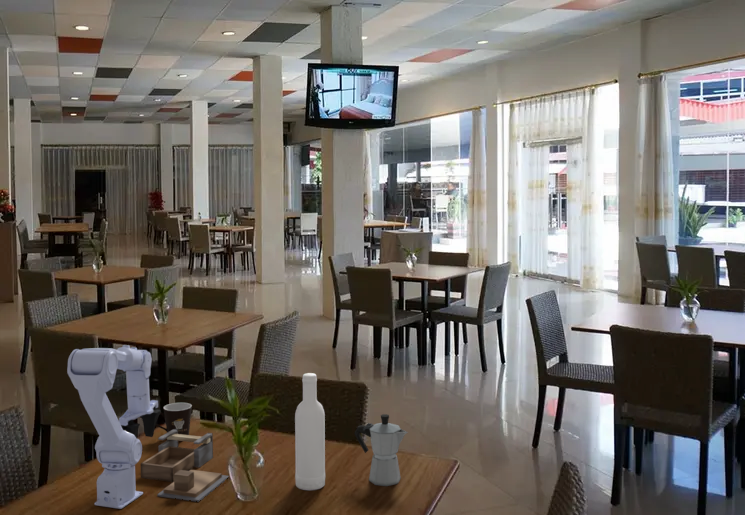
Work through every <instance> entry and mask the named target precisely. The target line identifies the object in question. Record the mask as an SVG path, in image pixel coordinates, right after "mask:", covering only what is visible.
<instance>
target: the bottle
mask: <svg viewBox="0 0 745 515" xmlns="http://www.w3.org/2000/svg"><path fill="white" fill-rule="evenodd" d="M317 377H318V376H317V374H316V373H314V372H313V373H312V372H307V373H306V372H305V373H304V374H302V379H301V381H302V401H301V402H300V403H299V404H298V405H297V406H296V410H295V413H294V423H295V424H294V429H295V430H294V431H295V432H294V434H295V436H294V437H295V438H294V440H295V443H294V444H295V446H294V447H295V448H294V449H295V452H294V453H295V474H294V479H295V486H296V488H298V489H299V490H301V491H302V490H303V491H317V490H320V489H322V488H323V487H324V486H325V485H326V456H325V455H326V450H325V449H326V446H325V445H326V444H325V443H326V441H325V440H326V439H325V438H326V434H325V432H326V428H325V426H326V425H325V421H326V419H325V418H326V417H325V416H326V414H325V409H324V406H323V404H322V403H321V402H319V401H318V397H317V392H318V390H317V387H318V386H317V381H318V378H317Z"/></svg>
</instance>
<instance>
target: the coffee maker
mask: <svg viewBox="0 0 745 515" xmlns="http://www.w3.org/2000/svg"><path fill="white" fill-rule="evenodd" d="M380 418H381V419H380V420H381V422H379V423H377V422H376V423H375V424H373V423H372V422H371V423H370V422H368V423H367V424H365V425H358V426H357V427H356V430H355V431H354V436H355V438H356V439H357V441H358V443H359V445H360V447H361V448H362V450H363V451H364V454H367V452H368V451H369V448H368V446H367V444H366V443H365V441H364V439H363V438H362V436H361V433H362V434H363V435H366V437H369V438H370V442H371V443H370V444H371V450H372V453H373V455H372V458H371V464H370V471H369V477H368V481H369V482H370V483H371V484H374V486H381V487H388V486H389V487H390V486H393V485H398V484H399V482H400V480H401V478H402V477H401V472H400V466H399V459H398V455H397V453H398V451H399V446H400V444H401V442H402V441H403V440H404V437H405V435H406V434H408V433H409V432H408V431H406V430H404V429H402V428H401V427H400V425H398V424H395V423H390V422H389V418H390V415H389V414H386V413H383V414H380Z"/></svg>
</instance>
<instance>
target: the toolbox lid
mask: <svg viewBox="0 0 745 515" xmlns="http://www.w3.org/2000/svg"><path fill="white" fill-rule="evenodd" d="M222 475H223V473H221V472H213V471H206V470H205V471H204V470H199V469H198V470H196V469H191V470H189V471H184V470H179V471H178V472H177V473H175V474H174V482H171V483H170V484H169V485H167V486H166V487H165V488H163V489H162V491H164V493H167V494H174V495H182V496H189V497H197V496H199V495H200V494H201V493H202V492H204V491H205V490H206V489H207V488H209V487H210V486H211V485H212V484H214V483H215V482H216V481H217V480H219V479H220V478H221V477H222Z"/></svg>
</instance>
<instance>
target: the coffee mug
mask: <svg viewBox="0 0 745 515" xmlns="http://www.w3.org/2000/svg"><path fill="white" fill-rule="evenodd" d="M192 406H193V405H192V404H191V403H188V402H172V403H169V404H166V405H164V406H163V412H161V411H160V415H161V416H162V418H164V420H165V426H166V427H164V426H162V425H159V424H158V423H156V425H155V427H158V428H159V429H162V430H164V431H165V432H166V433H168V432H169V431H171V430H173V429H177V430H178V434H183V435H190V429H191V427H190V426H191V417H192ZM160 415H159V416H160Z"/></svg>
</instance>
